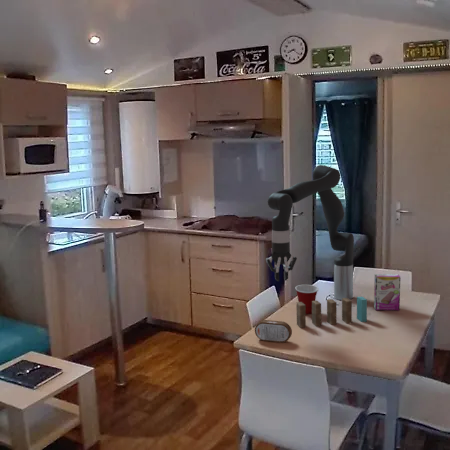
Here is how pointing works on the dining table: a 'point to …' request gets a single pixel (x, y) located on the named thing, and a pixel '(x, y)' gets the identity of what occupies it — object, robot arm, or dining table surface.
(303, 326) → the walnut domino
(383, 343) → the dining table surface
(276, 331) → the tin
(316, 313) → the walnut domino
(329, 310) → the walnut domino
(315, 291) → the plastic cup
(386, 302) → the candy bar box
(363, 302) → the teal domino
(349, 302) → the walnut domino
